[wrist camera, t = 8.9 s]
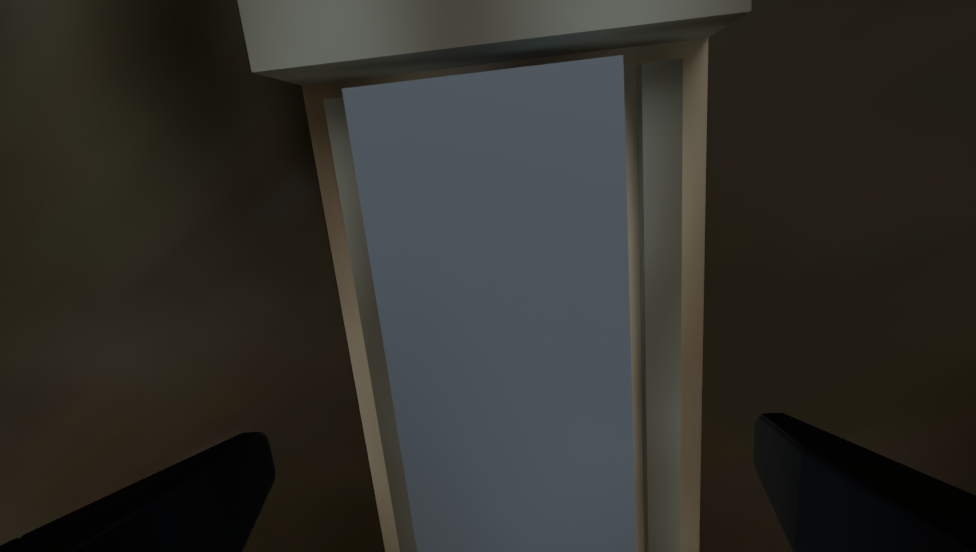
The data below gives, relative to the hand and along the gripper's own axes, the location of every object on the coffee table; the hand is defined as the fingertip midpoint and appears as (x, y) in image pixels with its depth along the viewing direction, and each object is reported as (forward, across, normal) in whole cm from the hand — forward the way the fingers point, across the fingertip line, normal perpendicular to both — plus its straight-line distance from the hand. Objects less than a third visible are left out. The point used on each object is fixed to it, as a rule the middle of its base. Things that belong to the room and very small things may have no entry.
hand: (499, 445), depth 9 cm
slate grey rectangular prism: (+6, 0, 0) cm, 6 cm away
